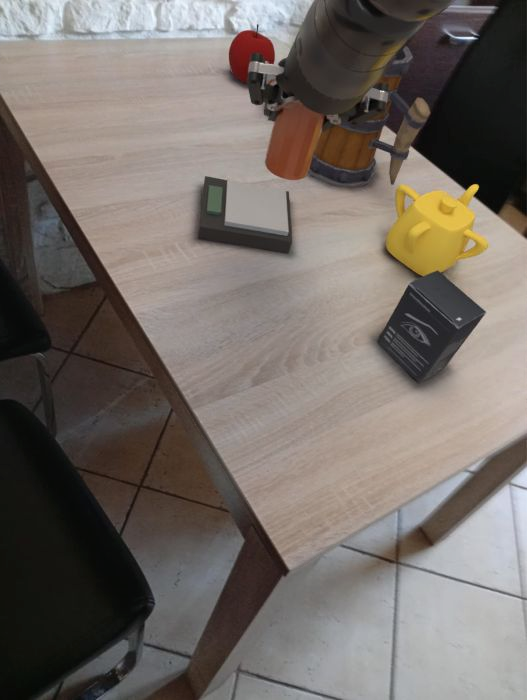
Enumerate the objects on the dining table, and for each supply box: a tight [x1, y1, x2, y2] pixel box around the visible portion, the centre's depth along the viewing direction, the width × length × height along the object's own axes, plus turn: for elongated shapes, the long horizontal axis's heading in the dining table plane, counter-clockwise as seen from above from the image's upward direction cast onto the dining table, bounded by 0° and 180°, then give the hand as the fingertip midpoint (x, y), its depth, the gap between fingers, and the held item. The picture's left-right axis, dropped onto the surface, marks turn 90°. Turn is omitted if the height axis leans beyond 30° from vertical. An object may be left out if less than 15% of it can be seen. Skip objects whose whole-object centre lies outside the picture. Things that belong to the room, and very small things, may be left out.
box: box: [377, 271, 487, 384], centre depth 64 cm, size 8×6×11 cm
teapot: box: [385, 183, 489, 277], centre depth 78 cm, size 14×13×10 cm
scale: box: [197, 175, 293, 254], centre depth 77 cm, size 13×12×3 cm
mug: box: [308, 45, 431, 189], centre depth 85 cm, size 19×14×20 cm
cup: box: [264, 105, 326, 181], centre depth 58 cm, size 5×5×9 cm
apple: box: [228, 23, 276, 85], centre depth 103 cm, size 9×9×10 cm
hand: (297, 117), depth 59 cm, fingers closed on cup, 5 cm apart
